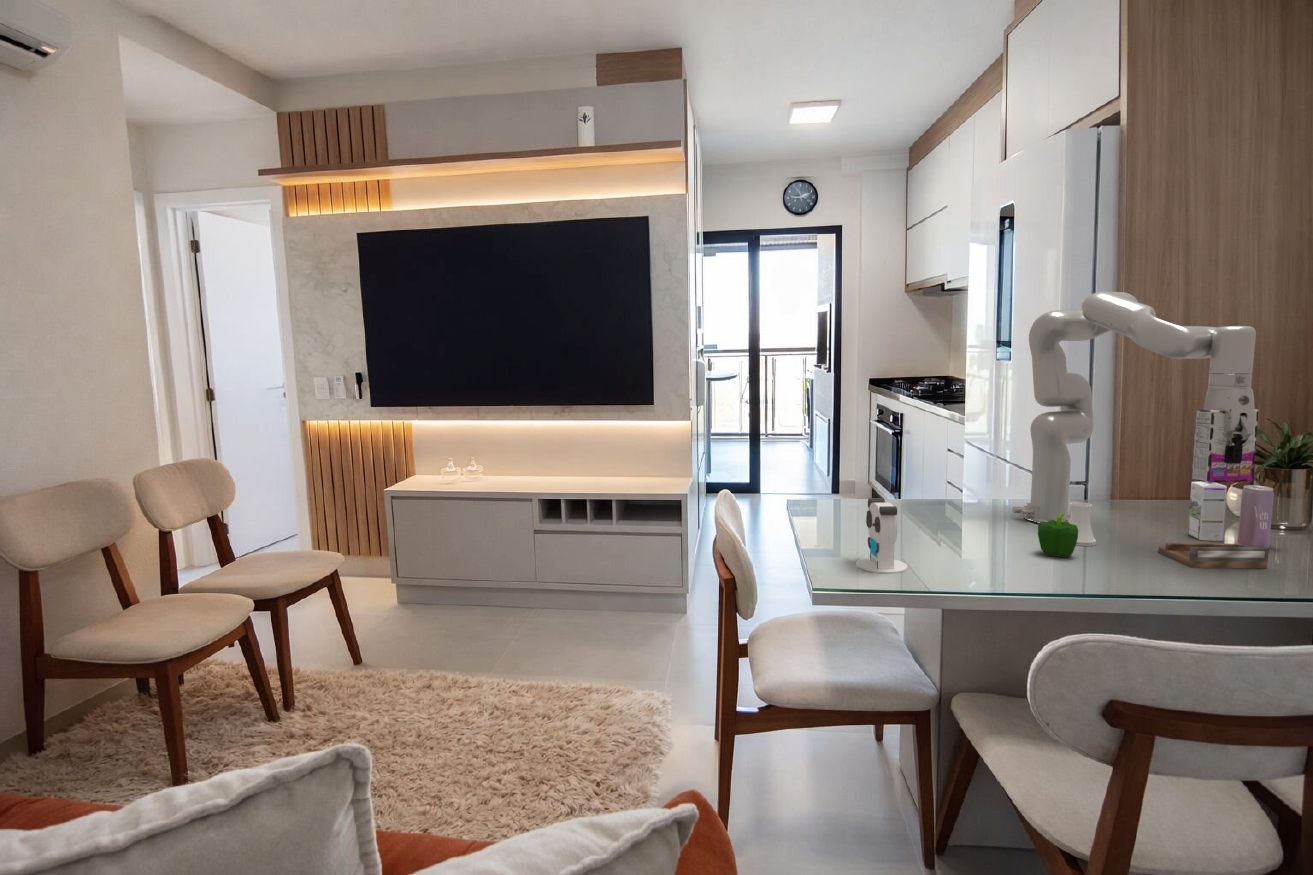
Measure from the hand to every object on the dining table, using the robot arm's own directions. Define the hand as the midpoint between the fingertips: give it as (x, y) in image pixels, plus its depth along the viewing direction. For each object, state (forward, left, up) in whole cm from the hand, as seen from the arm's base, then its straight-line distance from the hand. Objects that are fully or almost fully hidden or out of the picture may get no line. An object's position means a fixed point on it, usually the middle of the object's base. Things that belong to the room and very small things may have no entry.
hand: (1222, 460), depth 160 cm
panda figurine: (-77, -6, -24) cm, 81 cm away
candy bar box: (0, 0, -5) cm, 5 cm away
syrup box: (+12, +21, -24) cm, 34 cm away
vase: (-22, +16, -24) cm, 36 cm away
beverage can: (+18, +13, -24) cm, 33 cm away
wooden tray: (0, +1, -24) cm, 24 cm away
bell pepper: (-33, +4, -24) cm, 41 cm away
